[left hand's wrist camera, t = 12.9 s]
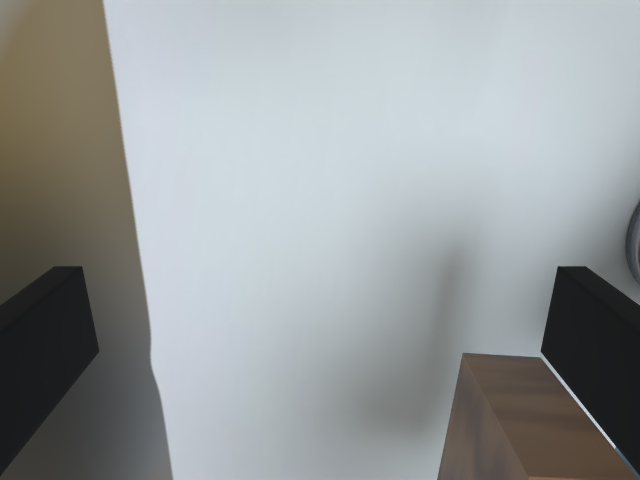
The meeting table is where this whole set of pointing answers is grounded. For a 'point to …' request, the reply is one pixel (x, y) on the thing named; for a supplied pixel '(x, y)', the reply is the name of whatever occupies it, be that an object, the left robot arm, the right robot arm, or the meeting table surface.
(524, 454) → the box
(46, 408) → the left robot arm
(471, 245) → the meeting table surface
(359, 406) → the meeting table surface
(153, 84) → the meeting table surface
